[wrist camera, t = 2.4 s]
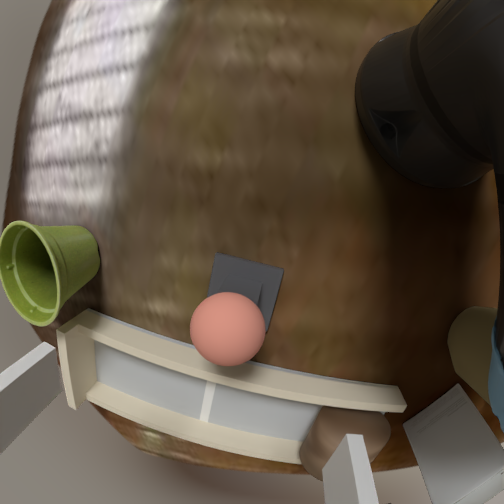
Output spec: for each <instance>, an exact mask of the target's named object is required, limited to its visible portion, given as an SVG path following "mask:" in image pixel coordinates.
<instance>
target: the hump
mask: <svg viewBox="0 0 504 504" xmlns="http://www.w3.org/2000/svg"><path fill="white" fill-rule="evenodd" d="M346 434H358V435H363V439H364V443H365V447H366V451H367V455H368V459H369V463H370V464H371V462H372V461H373V460H374V459H375V457H376V456H377V455H378V454H379V452H380V451H381V450H382V448H383V447H384V446H385V444H386V443H387V442H388V440H389V438H390V435H391V428H390V424H389V422H388V420H387V419H386V418H385V416H384V415H383V414H382V413H381V412H380V411H370V410H359V409H349V408H341V407H333V406H326V405H323V406H322V408H321V409H320V411H319V413H318V415H317V417H316V419H315V421H314V423H313V425H312V427H311V429H310V430H309V432H308V434H307V436H306V438H305V440H304V441H303V443H302V445H301V447H300V451H299V457H300V461H301V463H302V465H303V467H304V468H305V469H306V471H307V472H308V473H310V474H311V475H312V476H313V477H315V478H317V479H318V480H321V481H323V473H322V469H323V467H324V466H325V464H326V463H327V462H328V460H329V459H330V457H331V456H332V454H333V453H334V452H335V450H336V449H337V447H338V446H339V444H340V443H341V441H342V439H343V438H344V436H345V435H346Z"/></svg>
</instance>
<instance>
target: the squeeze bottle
mask: <svg viewBox="0 0 504 504" xmlns="http://www.w3.org/2000/svg"><path fill="white" fill-rule="evenodd" d="M497 310H498V309H496V308H488V307H477V306H473V307H470V308H467V309H465V310H464V311H463V312H462V313H460V314H459V315H458V316H457V318H456V319H455V320H454V322H453V323H452V325H451V327H450V330H449V332H448V339H447V344H448V348H449V351H450V355H451V359H452V363H453V366H454V370H455V373H457V374H458V375H459V376H460V377H461V378H462V379H463V380H464V381H465V382H466V383H467V384H468V385H469V386H470V387H471V388H472V389H474V390H475V391H476V392H477V393H478V394H479V395H480V396H481V397H482V398H483V399H484V400H485V401H486V402H487V403H488V404H489V405H490V406H491V404H490V400H489V393H488V376H489V369H490V363H491V356H492V342H491V336H492V328H493V326H494V322H495V319H496V316H497Z"/></svg>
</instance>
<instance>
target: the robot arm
mask: <svg viewBox="0 0 504 504" xmlns="http://www.w3.org/2000/svg"><path fill="white" fill-rule="evenodd" d="M355 97H356V105H357V110H358V114H359V117H360V120H361V123H362V125H363V128H364V130H365V132H366V134H367V136H368V138H369V140H370V141H371V143H372V144H373V146H374V147H375V149H376V150H377V152H378V153H379V154H380V155H381V156H382V158H383V159H384V160H385V161H386V162H387V163H388V164H389V165H390V166H391V167H392V168H393V169H395V170H396V171H397V172H398V173H400V174H401V175H403V176H404V177H406V178H408V179H409V180H411V181H413V182H416V183H418V184H421V185H424V186H428V187H433V188H458V187H462V186H466V185H469V184H471V183H473V182H475V181H476V180H478V179H479V178H480V177H482V176H483V175H484V174H486V173H487V172H489V171H490V170H492V169H494V173H495V180H496V187H497V195H498V208H499V222H500V286H499V300H498V310H497V316H496V319H495V322H494V326H493V328H492V336H491V342H492V356H491V363H490V369H489V376H488V393H489V400H490V404H491V408H492V411H493V413H494V414H495V416H497V417H498V419H499V421H500V426H501V429H502V431H503V433H504V0H437V2H436V3H435V4H434V5H433V7H432V8H431V9H430V10H429V12H428V13H427V14H426V15H425V17H424V18H423V19H422V21H421V22H420V23H419V24H418V25H416V26H413V27H410V28H408V29H405V30H403V31H400V32H396V33H393V34H390V35H388V36H386V37H384V38H382V39H381V40H380V41H378V42H377V43H376V44H375V45H374V46H373V47H372V48H371V49H370V51H369V52H368V54H367V55H366V57H365V59H364V60H363V62H362V64H361V66H360V68H359V71H358V74H357V78H356V85H355ZM61 392H62V385H61V380H60V375H59V368H58V362H57V355H56V348H55V347H53V346H51V345H49V344H48V343H46V342H43V343H42V344H40V345H39V346H37V347H36V348H35V349H33V350H32V351H30V352H29V353H28V354H26V355H25V356H24V357H22V358H21V359H19V360H18V361H17V362H15V363H14V364H13V365H11V366H10V367H9V368H7V369H6V370H5V371H3V372H2V373H1V374H0V454H1V453H2V452H3V451H4V450H5V449H6V448H7V447H8V446H9V445H10V444H11V443H12V442H13V441H14V439H16V437H17V436H18V435H19V434H20V433H21V432H22V431H23V430H24V429H25V428H26V427H27V426H28V425H29V424H30V423H31V422H32V421H33V420H34V419H35V418H36V417H37V416H38V415H39V414H40V413H41V412H42V411H43V410H44V409H45V408H46V407H47V406H48V405H49V404H50V403H51V402H52V401H53V400H54V399H55V398H56V397H57V396H58V394H60V393H61ZM322 473H323V485H324V497H325V504H379V502H378V497H377V493H376V489H375V484H374V480H373V476H372V471H371V467H370V463H369V459H368V455H367V451H366V447H365V443H364V439H363V435H358V434H346V435H345V436H344V438H343V439H342V441H341V443H340V444H339V446H338V447H337V449H336V450H335V452H334V453H333V454H332V456H331V457H330V459H329V460H328V462H327V463H326V464H325V466H324V467H323V469H322Z"/></svg>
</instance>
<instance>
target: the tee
mask: <svg viewBox="0 0 504 504" xmlns="http://www.w3.org/2000/svg"><path fill="white" fill-rule="evenodd" d="M283 272H284V269H283V268H279V267H275V266H271V265H267V264H263V263H259V262H254V261H250V260H246V259H242V258H238V257H234V256H230V255H226V254H222V253H218V252H217V253H216V254H215V259H214V264H213V269H212V274H211V279H210V284H209V290H208V295H207V298H208V297H210V296H212V295H214V294H217V293H222V292H233V293H238V294H241V295H243V296H245V297H247V298H249V299H250V300H251V301H253V302H254V303H255V304H256V306H257V307H258V308H259V309H260V311H261V313H262V315H263V318H264V321H265V331H267V330H268V326H269V322H270V319H271V315H272V312H273V308H274V305H275V301H276V297H277V294H278V290H279V286H280V283H281V279H282V275H283Z"/></svg>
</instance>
